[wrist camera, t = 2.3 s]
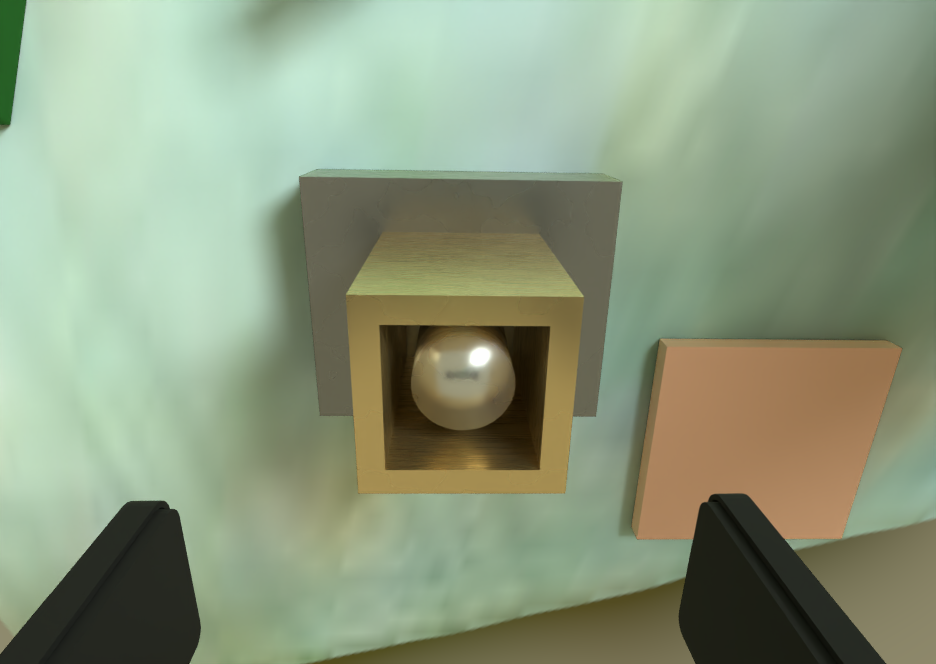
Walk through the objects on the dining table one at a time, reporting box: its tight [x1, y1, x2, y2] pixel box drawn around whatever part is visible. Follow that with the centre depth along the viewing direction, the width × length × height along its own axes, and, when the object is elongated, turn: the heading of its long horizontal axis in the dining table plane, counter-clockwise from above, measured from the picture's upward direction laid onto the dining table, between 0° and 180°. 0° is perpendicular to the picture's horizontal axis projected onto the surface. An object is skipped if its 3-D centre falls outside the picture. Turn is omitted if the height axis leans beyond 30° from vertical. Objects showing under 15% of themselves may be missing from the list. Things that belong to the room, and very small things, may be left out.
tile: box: [631, 339, 902, 539], centre depth 28 cm, size 11×11×1 cm
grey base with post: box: [299, 169, 622, 430], centre depth 21 cm, size 12×10×10 cm
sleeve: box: [346, 232, 584, 493], centre depth 19 cm, size 6×6×8 cm
